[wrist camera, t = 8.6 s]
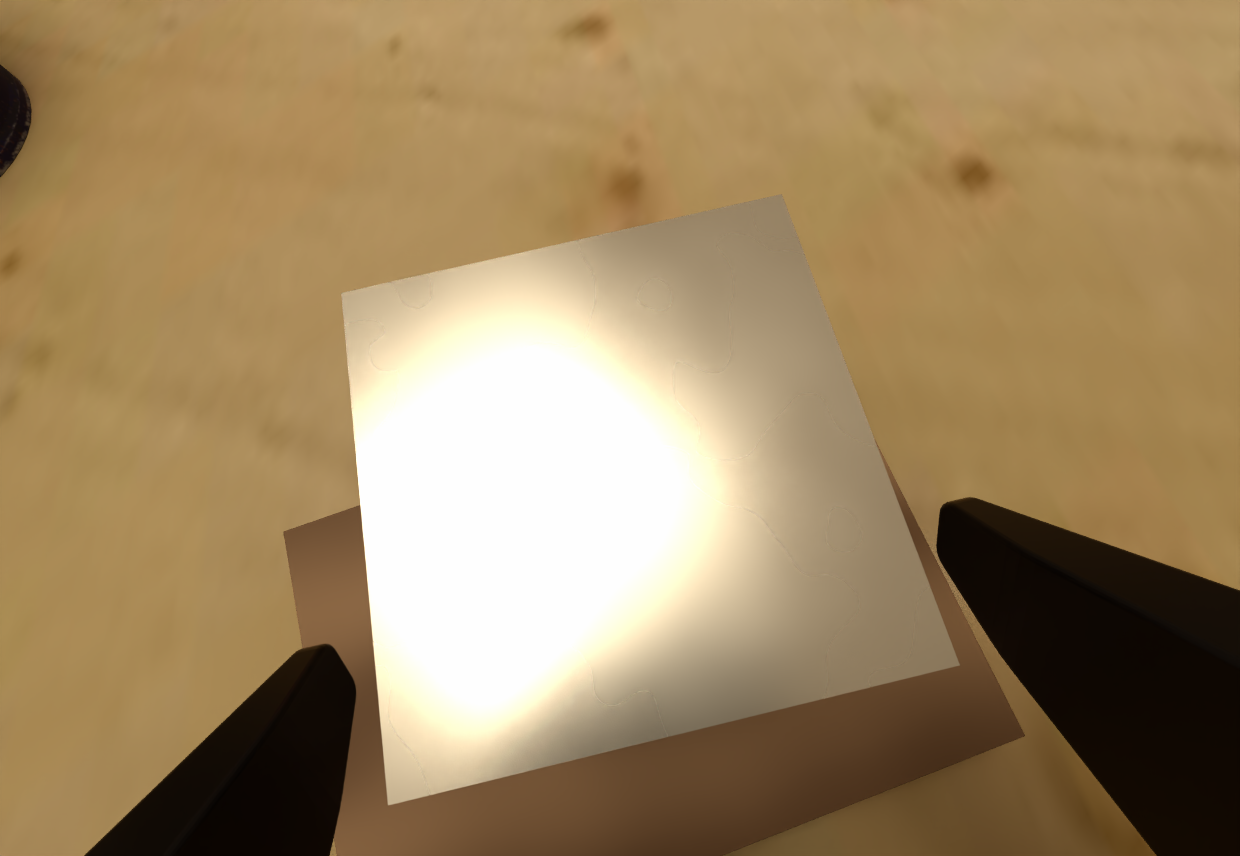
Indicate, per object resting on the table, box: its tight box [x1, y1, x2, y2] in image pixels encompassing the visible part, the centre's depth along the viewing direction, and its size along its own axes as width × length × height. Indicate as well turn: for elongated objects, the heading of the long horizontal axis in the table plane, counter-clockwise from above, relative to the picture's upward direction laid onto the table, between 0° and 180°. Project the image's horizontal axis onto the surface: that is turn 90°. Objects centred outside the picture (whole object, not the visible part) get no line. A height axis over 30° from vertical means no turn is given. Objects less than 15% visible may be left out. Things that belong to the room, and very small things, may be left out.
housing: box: [341, 194, 960, 805], centre depth 11 cm, size 6×6×11 cm
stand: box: [284, 439, 1025, 856], centre depth 17 cm, size 12×18×3 cm, turn 109°
